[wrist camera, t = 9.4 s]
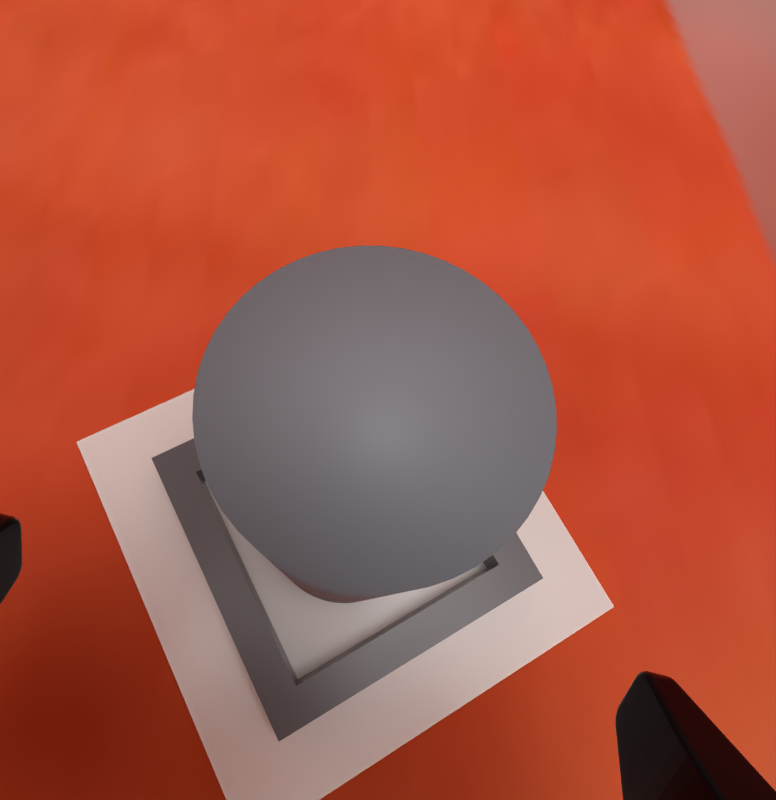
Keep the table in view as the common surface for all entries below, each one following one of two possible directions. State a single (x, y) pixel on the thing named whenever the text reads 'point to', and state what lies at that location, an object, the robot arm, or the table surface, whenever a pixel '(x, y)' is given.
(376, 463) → the slate post
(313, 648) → the seat board
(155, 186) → the table surface
